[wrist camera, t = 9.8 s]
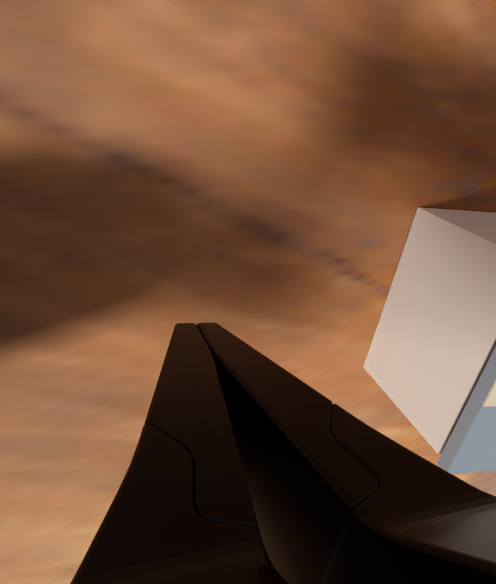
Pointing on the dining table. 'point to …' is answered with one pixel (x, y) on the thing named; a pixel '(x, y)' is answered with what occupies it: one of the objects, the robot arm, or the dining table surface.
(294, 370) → the dining table surface
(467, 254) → the storage box
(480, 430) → the lid
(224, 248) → the dining table surface
